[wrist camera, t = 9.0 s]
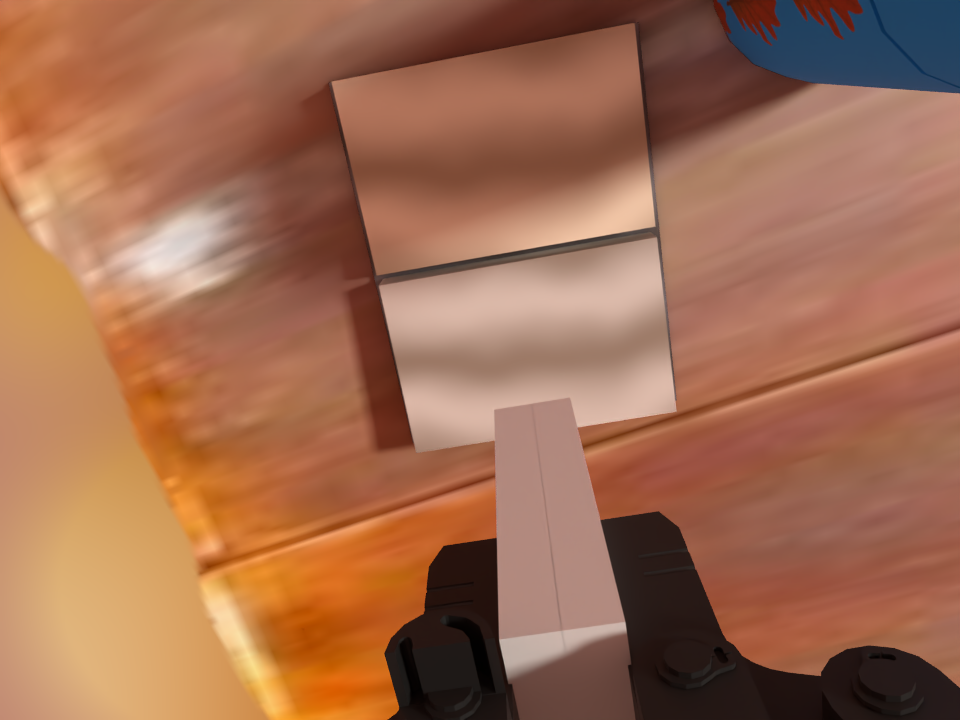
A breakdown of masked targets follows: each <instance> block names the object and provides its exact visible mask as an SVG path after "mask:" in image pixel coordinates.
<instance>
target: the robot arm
mask: <svg viewBox="0 0 960 720" xmlns="http://www.w3.org/2000/svg"><path fill="white" fill-rule="evenodd" d="M494 423H495V470H496V518H497V538H493V539H487V540H480V541H473V542H467V543H460V544H453V545H447V546H443V548H442V549H441V550H440V552H439V553H438V555H437V556H436V558H435V559H434V560H433V562H432V563H431V565H430V566H429V572H428V581H427V593H426V598H425V611H424V614H423V615H421V616H419V617H417V618H415V619H414V620H412V621H410V622H408V623H407V624H405V625H404V626H403V627H402V628H401V629H400V630H399V631H398V632H397V633H396V634H395V635H394V636H393V637H392V638H391V639H390V642H389V644H388V646H387V649H386V651H385V653H384V654H385V657H386V661H387V665H388V668H389V672H390V675H391V679H392V683H393V686H394V690H395V693H396V697H397V700H398V704H399V711H398V712H397V713H396V714H395V715H393V716H392V717H391V718H389V719H388V720H960V688H959V687H958V686H957V685H956V684H955V683H953V682H952V681H951V680H950V679H949V678H948V677H947V676H946V675H944V674H943V673H942V672H941V671H940V670H938V669H937V668H935V667H934V666H932V665H931V664H929V663H928V662H926V661H925V660H923V659H922V658H920V657H918V656H916V655H913V654H910V653H907V652H904V651H901V650H898V649H895V648H888V647H878V646H863V647H857V648H851V649H846V650H844V651H843V652H841V653H839V654H837V655H836V656H834V657H832V658H830V659H829V661H828V663H827V664H826V666H825V667H824V669H823V670H822V672H821V676H814V675H805V674H796V673H788V672H783V671H778V670H772V669H769V668H766V667H763V666H761V665H758V664H755V663H753V662H751V661H750V660H748V659H746V658H745V657H743V656H742V655H741V654H740V653H739V651H738V650H737V648H736V647H735V646H734V645H733V644H731V643H730V642H728V641H727V640H726V639H725V637H724V635H723V634H722V631H721V629H720V627H719V624H718V622H717V619H716V617H715V614H714V612H713V609H712V607H711V605H710V602H709V600H708V597H707V595H706V592H705V590H704V588H703V585H702V583H701V580H700V578H699V575H698V573H697V570H695V566H694V563H693V561H692V558H691V556H690V553H689V552H688V549H687V546H686V544H685V541H684V539H683V536H682V534H681V532H680V529H679V527H678V526H676V525H675V524H674V523H673V522H671V521H670V520H669V519H667V518H666V517H665V516H664V515H662V514H661V513H660V512H659V511H658V512H652V513H645V514H638V515H632V516H625V517H618V518H612V519H605V520H600V517H599V513H598V509H597V505H596V501H595V497H594V493H593V489H592V485H591V481H590V476H589V472H588V468H587V464H586V460H585V456H584V452H583V448H582V444H581V440H580V436H579V432H578V428H577V424H576V420H575V416H574V411H573V407H572V403H571V399H570V397H569V398H563V399H557V400H551V401H545V402H538V403H532V404H526V405H520V406H514V407H508V408H501V409H495V410H494Z"/></svg>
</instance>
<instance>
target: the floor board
mask: <svg viewBox="0 0 960 720" xmlns="http://www.w3.org/2000/svg"><path fill="white" fill-rule="evenodd" d="M329 87H330V91H331V96H332V100H333V104H334V108H335V113H336V117H337V121H338V125H339V130H340V134H341V138H342V142H343V147H344V151H345V155H346V159H347V164H348V168H349V172H350V176H351V181H352V185H353V189H354V193H355V198H356V202H357V206H358V211H359V215H360V219H361V223H362V228H363V232H364V236H365V240H366V245H367V249H368V253H369V257H370V262H371V266H372V270H373V274H374V279H375V283H376V287H377V291H378V296H379V300H380V304H381V308H382V313H383V317H384V321H385V325H386V330H387V334H388V338H389V342H390V347H391V351H392V355H393V359H394V364H395V368H396V372H397V376H398V381H399V385H400V389H401V393H402V398H403V402H404V406H405V410H406V415H407V419H408V423H409V418H408V414H407V409H406V405H405V400H404V396H403V392H402V387H401V383H400V378H399V374H398V369H397V365H396V360H395V356H394V351H393V347H392V343H391V338H390V334H389V329H388V325H387V320H386V316H385V311H384V307H383V302H382V298H381V293H380V289H379V285H380V283H381V282H382V280H383V279H385V278H391V277H396V276H402V275H408V274H414V273H419V272H425V271H431V270H436V269H442V268H448V267H453V266H459V265H465V264H471V263H476V262H482V261H488V260H493V259H499V258H505V257H510V256H516V255H522V254H528V253H533V252H539V251H545V250H550V249H556V248H562V247H568V246H573V245H579V244H585V243H590V242H596V241H602V240H607V239H613V238H619V237H625V236H630V235H636V234H642V233H647V232H651V233H652V234H654V235H655V236H656V237H657V242H658V251H659V260H660V269H661V278H662V287H663V296H664V305H665V314H666V323H667V332H668V341H669V350H670V359H671V368H672V376H673V385H674V394H675V401H676V390H675V380H674V370H673V360H672V351H671V341H670V331H669V321H668V311H667V301H666V291H665V282H664V272H663V262H662V252H661V242H660V232H659V222H658V212H657V203H656V193H655V183H654V173H653V163H652V153H651V143H650V134H649V124H648V114H647V104H646V94H645V84H644V74H643V65H642V55H641V45H640V35H639V25H638V22H637V23H630V24H625V25H620V26H615V27H610V28H605V29H600V30H594V31H589V32H584V33H579V34H574V35H569V36H564V37H558V38H553V39H548V40H543V41H538V42H533V43H528V44H522V45H517V46H512V47H507V48H502V49H497V50H492V51H486V52H481V53H476V54H471V55H466V56H461V57H456V58H450V59H445V60H440V61H435V62H430V63H425V64H420V65H414V66H409V67H404V68H399V69H394V70H389V71H384V72H378V73H373V74H368V75H363V76H358V77H353V78H348V79H342V80H337V81H332V82H329ZM409 427H410V423H409ZM410 432H411V427H410ZM411 436H412V432H411ZM412 440H413V436H412ZM413 443H414V441H413Z"/></svg>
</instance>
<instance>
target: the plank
mask: <svg viewBox="0 0 960 720" xmlns="http://www.w3.org/2000/svg"><path fill="white" fill-rule="evenodd" d="M379 289H380V293H381V298H382V302H383V307H384V311H385V316H386V320H387V325H388V329H389V334H390V338H391V343H392V347H393V351H394V356H395V360H396V365H397V369H398V374H399V378H400V383H401V387H402V392H403V396H404V400H405V405H406V409H407V414H408V418H409V423H410V427H411V432H412V436H413V441H414V445H415V449H416V453H419V452H426V451H432V450H438V449H444V448H451V447H457V446H463V445H470V444H476V443H482V442H488V441H495V423H494V410H495V409H501V408H508V407H514V406H520V405H526V404H532V403H538V402H545V401H551V400H557V399H563V398H569V397H570V399H571V403H572V407H573V411H574V416H575V420H576V424H577V427H583V426H589V425H595V424H602V423H608V422H614V421H621V420H627V419H633V418H640V417H646V416H652V415H658V414H665V413H671V412H676V403H675V394H674V385H673V376H672V368H671V359H670V350H669V341H668V332H667V323H666V314H665V305H664V296H663V287H662V278H661V269H660V260H659V251H658V242H657V237H656V236H655V235H654V234H652V233H651V232H647V233H642V234H636V235H630V236H625V237H619V238H613V239H607V240H602V241H596V242H590V243H585V244H579V245H573V246H568V247H562V248H556V249H550V250H545V251H539V252H533V253H528V254H522V255H516V256H510V257H505V258H499V259H493V260H488V261H482V262H476V263H471V264H465V265H459V266H453V267H448V268H442V269H436V270H431V271H425V272H419V273H414V274H408V275H402V276H396V277H391V278H385V279H383V280H382V282H381V283H380V285H379Z"/></svg>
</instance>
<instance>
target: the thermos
mask: <svg viewBox="0 0 960 720" xmlns="http://www.w3.org/2000/svg"><path fill="white" fill-rule="evenodd" d="M713 2H714V8H715V10H716V12H717V15H718V17H719V19H720V21H721V24H722V26H723V28H724V30H725V32H726V35H727V37H728V39H729V41H730V42H731V43H732V44H734V45H735V46H736V47H737V48H738V49H739V50H740V51H741V52H742V53H743V54H744V55H745V56H746V57H747V58H748V59H749V60H750V61H751V62H752V63H753V64H755V65H757V66H760V67H762V68H765V69H767V70H770V71H772V72H775V73H778V74H780V75H783V76H785V77H789V78H794V79H798V80H802V81H807V82H811V83H820V84H835V85H849V86H863V87H877V88H891V89H906V90H920V91H934V92H948V93H960V0H713Z"/></svg>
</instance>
